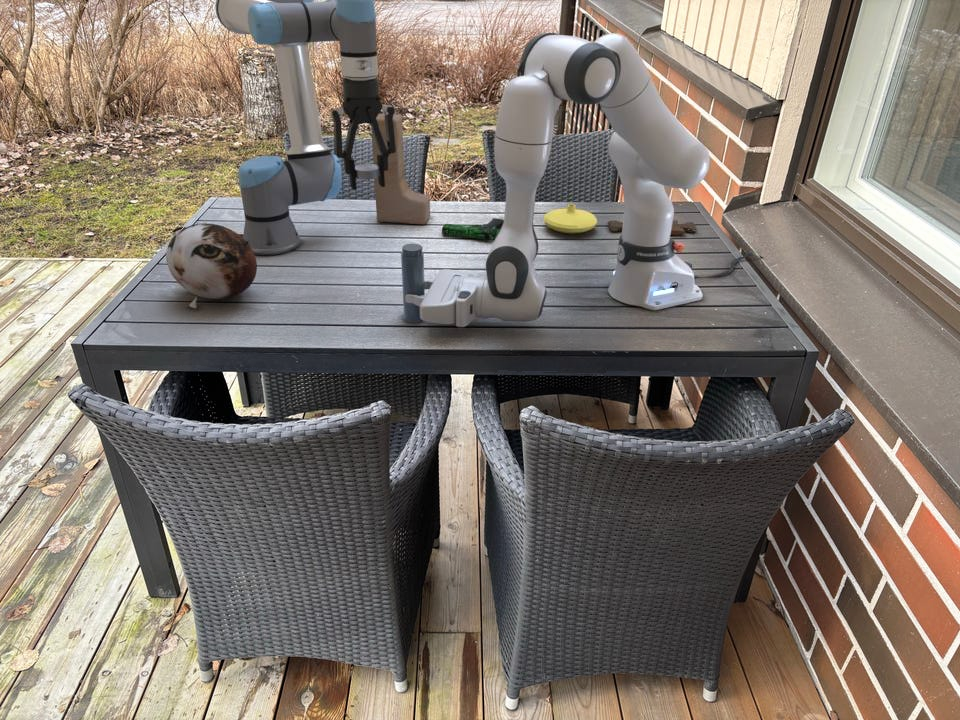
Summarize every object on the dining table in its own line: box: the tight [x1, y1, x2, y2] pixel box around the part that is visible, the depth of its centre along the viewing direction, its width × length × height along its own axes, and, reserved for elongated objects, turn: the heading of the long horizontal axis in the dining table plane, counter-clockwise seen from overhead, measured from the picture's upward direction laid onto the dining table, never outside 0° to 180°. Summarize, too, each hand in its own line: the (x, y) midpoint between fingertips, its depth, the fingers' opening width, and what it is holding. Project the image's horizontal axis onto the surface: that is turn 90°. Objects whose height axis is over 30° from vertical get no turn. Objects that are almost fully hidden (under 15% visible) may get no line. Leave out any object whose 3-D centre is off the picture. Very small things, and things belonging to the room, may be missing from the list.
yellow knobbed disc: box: [543, 203, 598, 234], centre depth 209 cm, size 16×16×7 cm
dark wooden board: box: [607, 219, 697, 235], centre depth 211 cm, size 26×2×10 cm
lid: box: [355, 163, 380, 180], centre depth 159 cm, size 6×6×2 cm
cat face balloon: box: [165, 222, 258, 309], centre depth 165 cm, size 22×18×20 cm
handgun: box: [441, 217, 504, 242], centre depth 207 cm, size 16×3×15 cm
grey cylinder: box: [400, 243, 426, 323], centre depth 157 cm, size 5×5×17 cm
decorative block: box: [370, 113, 431, 225], centre depth 208 cm, size 8×15×30 cm, turn 82°
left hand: (367, 186), depth 161 cm, fingers closed on lid, 6 cm apart
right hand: (409, 291), depth 158 cm, fingers closed on grey cylinder, 5 cm apart
